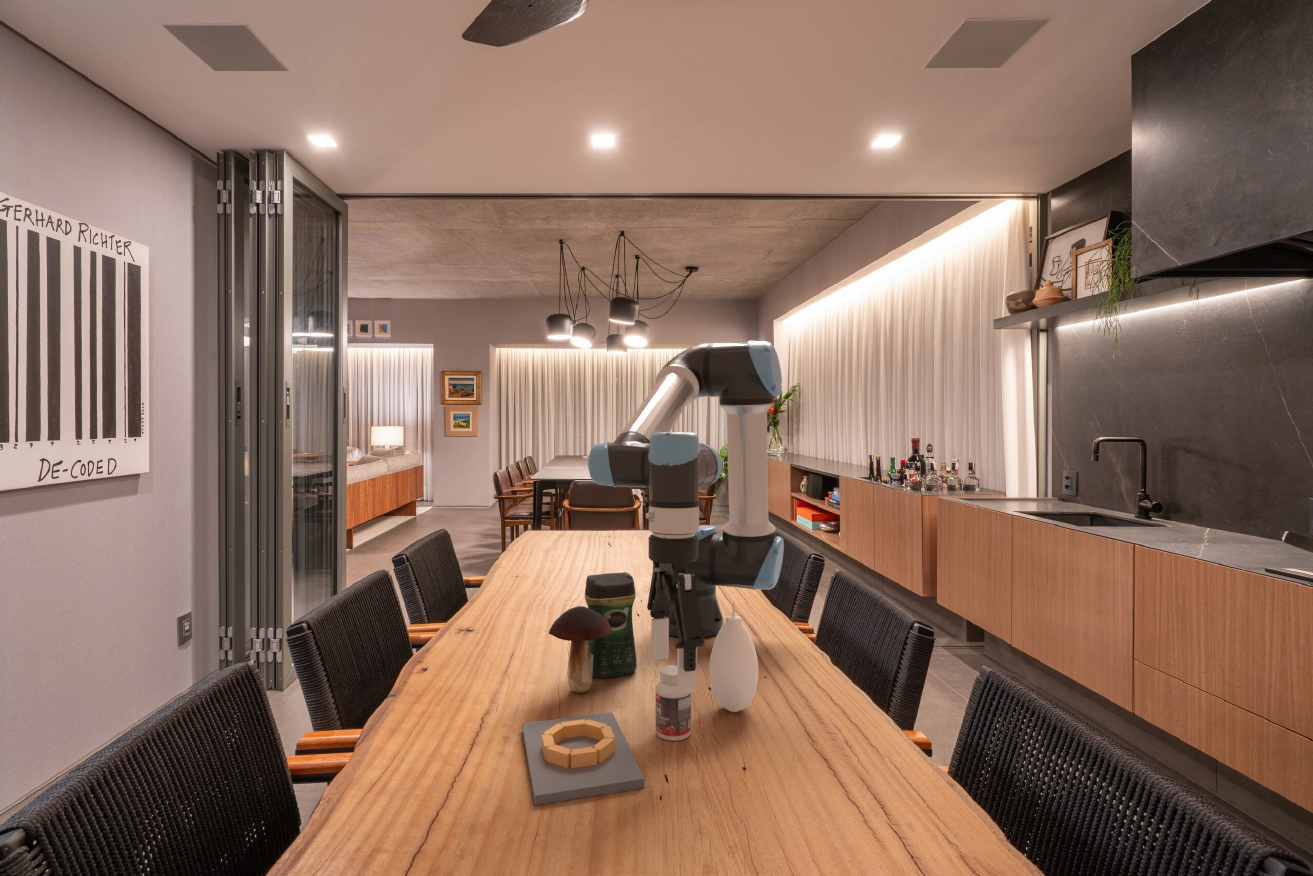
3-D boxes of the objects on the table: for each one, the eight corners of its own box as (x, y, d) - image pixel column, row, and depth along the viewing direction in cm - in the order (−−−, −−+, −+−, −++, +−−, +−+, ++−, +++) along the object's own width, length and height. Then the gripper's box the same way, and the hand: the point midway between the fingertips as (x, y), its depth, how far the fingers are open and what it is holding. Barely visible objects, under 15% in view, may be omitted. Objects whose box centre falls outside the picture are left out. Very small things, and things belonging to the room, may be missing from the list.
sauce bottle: (727, 724, 101) (727, 610, 101) (700, 705, 108) (701, 598, 108) (767, 714, 105) (767, 603, 104) (739, 696, 112) (740, 592, 111)
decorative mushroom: (542, 685, 116) (542, 602, 116) (600, 675, 121) (600, 595, 120) (558, 710, 106) (557, 619, 106) (620, 698, 111) (620, 611, 110)
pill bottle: (648, 734, 98) (648, 670, 98) (670, 722, 102) (670, 660, 102) (676, 746, 95) (676, 679, 94) (698, 732, 99) (698, 669, 98)
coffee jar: (629, 660, 128) (629, 567, 128) (640, 675, 121) (640, 576, 121) (581, 666, 125) (580, 571, 125) (589, 681, 118) (589, 580, 118)
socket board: (612, 719, 103) (612, 701, 103) (644, 787, 84) (644, 764, 84) (522, 731, 99) (522, 711, 99) (534, 805, 80) (534, 781, 80)
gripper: (629, 523, 109) (628, 649, 109) (674, 549, 85) (673, 711, 85) (672, 522, 111) (671, 645, 111) (728, 547, 87) (727, 705, 87)
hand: (672, 674), depth 98 cm, fingers open, 13 cm apart
